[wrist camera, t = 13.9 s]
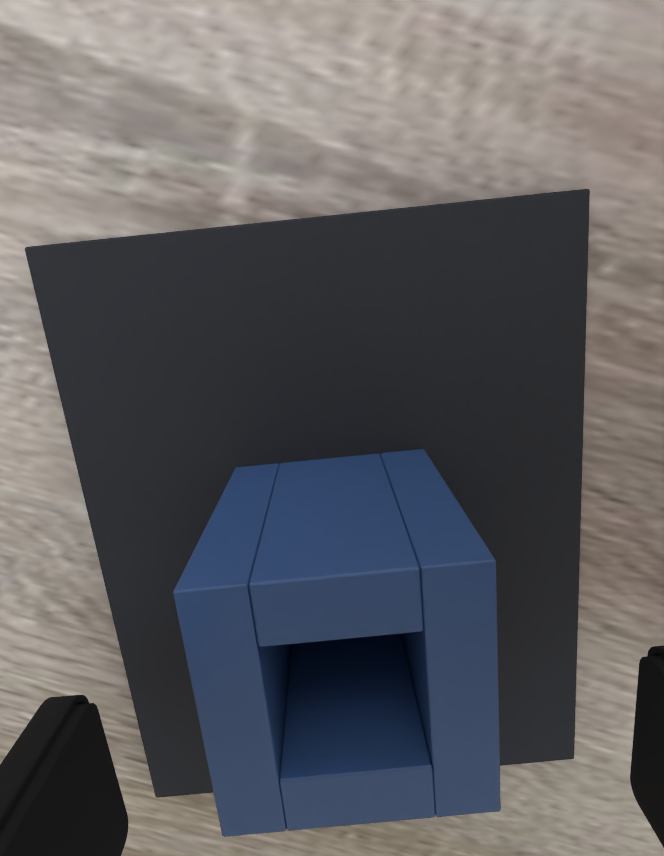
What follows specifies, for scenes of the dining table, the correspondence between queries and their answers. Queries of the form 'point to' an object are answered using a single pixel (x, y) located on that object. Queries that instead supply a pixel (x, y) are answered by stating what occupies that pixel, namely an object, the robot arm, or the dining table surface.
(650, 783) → the robot arm
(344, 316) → the mat
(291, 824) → the block
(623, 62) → the dining table surface
